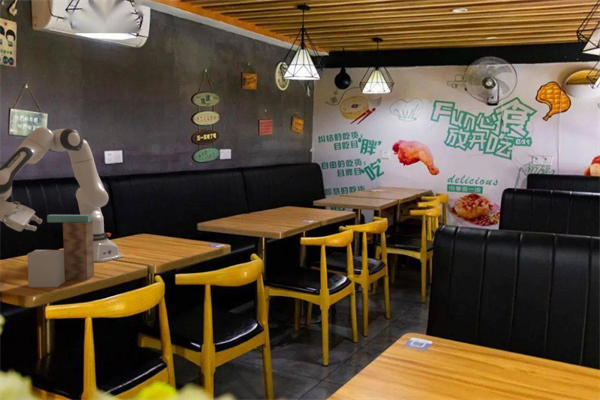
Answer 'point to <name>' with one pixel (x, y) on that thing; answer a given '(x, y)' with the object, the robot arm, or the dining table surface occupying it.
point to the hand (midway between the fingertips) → (38, 225)
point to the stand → (78, 250)
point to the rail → (68, 218)
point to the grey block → (46, 268)
